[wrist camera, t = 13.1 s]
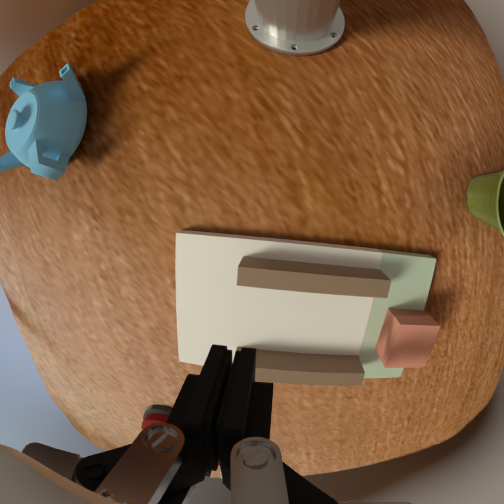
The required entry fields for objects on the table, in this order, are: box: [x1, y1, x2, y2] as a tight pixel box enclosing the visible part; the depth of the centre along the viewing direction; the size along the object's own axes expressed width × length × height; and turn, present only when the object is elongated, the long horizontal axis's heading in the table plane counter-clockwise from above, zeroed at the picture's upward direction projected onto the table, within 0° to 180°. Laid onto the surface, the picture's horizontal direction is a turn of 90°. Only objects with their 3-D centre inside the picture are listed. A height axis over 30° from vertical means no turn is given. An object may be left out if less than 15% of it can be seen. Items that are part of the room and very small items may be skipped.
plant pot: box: [466, 170, 504, 236], centre depth 24 cm, size 9×9×9 cm
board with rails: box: [176, 230, 436, 385], centre depth 32 cm, size 18×32×6 cm, turn 86°
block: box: [375, 308, 441, 368], centre depth 30 cm, size 6×6×4 cm
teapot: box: [0, 63, 87, 181], centre depth 27 cm, size 15×15×11 cm
